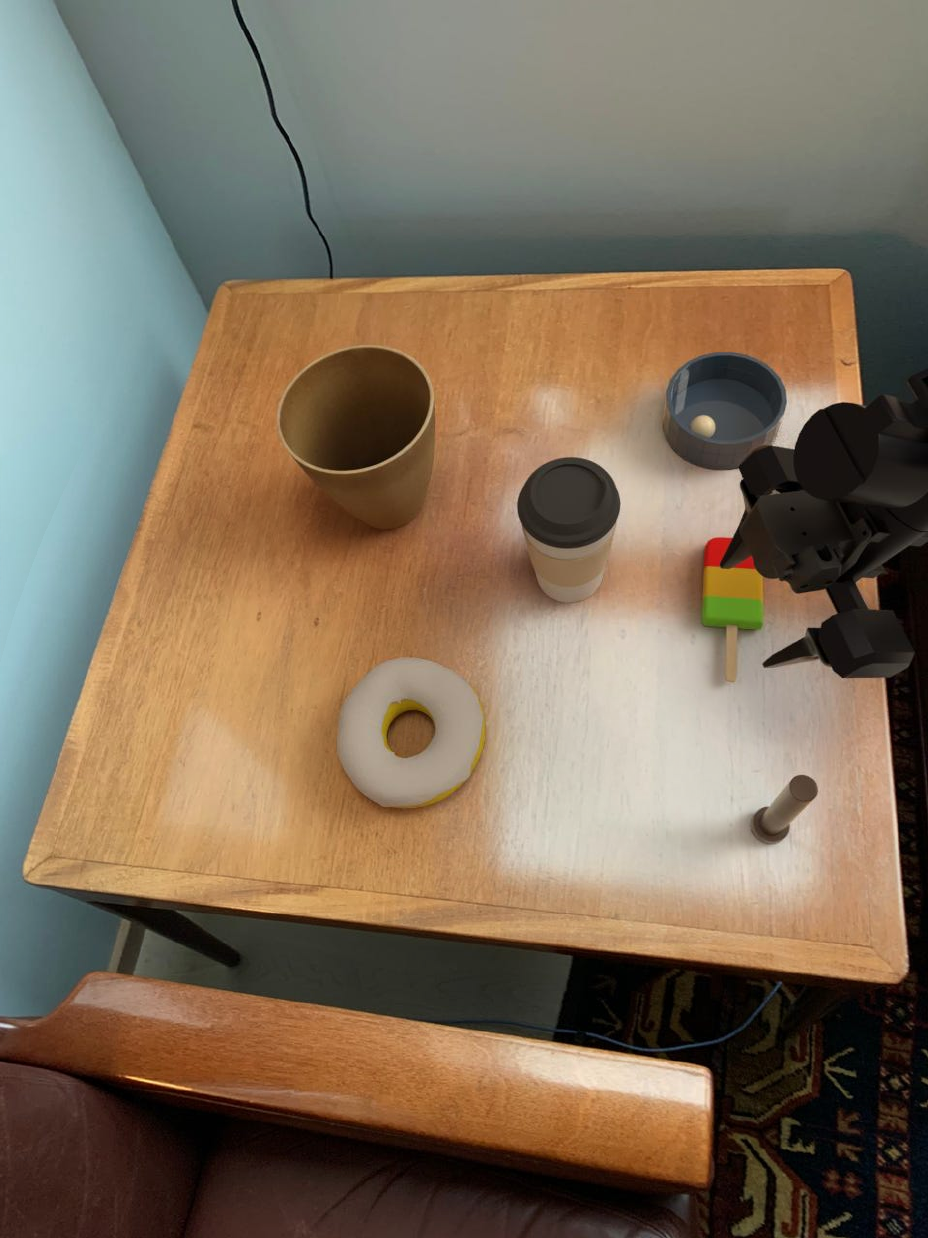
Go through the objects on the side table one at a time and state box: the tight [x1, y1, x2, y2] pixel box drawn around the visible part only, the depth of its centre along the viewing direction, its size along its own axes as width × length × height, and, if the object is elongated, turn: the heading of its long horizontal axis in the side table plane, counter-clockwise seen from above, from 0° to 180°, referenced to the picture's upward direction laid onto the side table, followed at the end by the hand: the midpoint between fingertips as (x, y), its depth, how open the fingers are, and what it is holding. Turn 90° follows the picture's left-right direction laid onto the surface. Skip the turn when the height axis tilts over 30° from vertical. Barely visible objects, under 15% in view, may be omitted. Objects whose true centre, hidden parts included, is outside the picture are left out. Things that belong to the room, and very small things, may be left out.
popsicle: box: [701, 536, 764, 683], centre depth 83 cm, size 6×15×2 cm, turn 172°
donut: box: [336, 656, 487, 809], centre depth 80 cm, size 14×14×5 cm
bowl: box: [662, 351, 788, 471], centre depth 91 cm, size 12×12×4 cm
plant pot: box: [276, 344, 436, 531], centre depth 87 cm, size 15×15×16 cm
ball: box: [690, 415, 715, 438], centre depth 91 cm, size 3×3×3 cm
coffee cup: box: [516, 456, 621, 604], centre depth 81 cm, size 9×9×15 cm
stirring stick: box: [750, 774, 819, 845], centre depth 69 cm, size 3×3×13 cm
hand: (744, 615), depth 69 cm, fingers open, 9 cm apart
